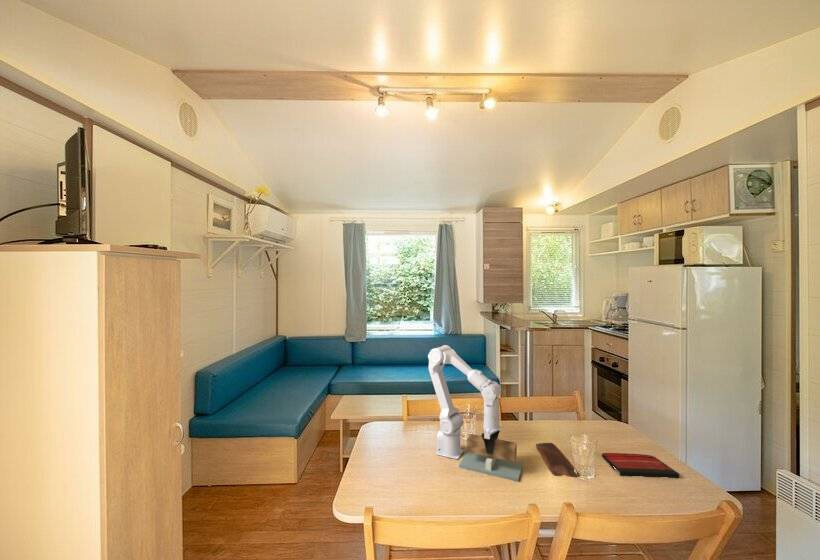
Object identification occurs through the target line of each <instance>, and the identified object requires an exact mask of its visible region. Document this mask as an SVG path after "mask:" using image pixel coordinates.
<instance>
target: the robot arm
mask: <svg viewBox="0 0 820 560" xmlns="http://www.w3.org/2000/svg"><path fill="white" fill-rule="evenodd" d="M427 358H428V372H429V375H430V378H431V381H432V382H431V383H432V385H433V388H434V391H435V394H436V398H437V402H438V404H439V409H440V413H439V415H438V416H439V417H438V418H439V430H438V432H437V434H436V435H437V436H436V453H435V454H436V455H438V456H441V457H445V458H451V459H453V460H459V459H460V457H461V456H462V454H463V453H464V449H463V448H461V429H462V426H463V425H464V419H463V416H462V415H461V414H460V412H459V409H458V408H457V407H455V406H454V403H453V400H452V395H451V394H450V391H449V388H448V384H447V380H446V378H445V375H444V372H443V371H444V370H443V369H444V367H445V365H452V366H453V367H455V368H456V369H457V370H458V371H460V372H461V373H463V375H465V376H466V377H467V382H469V383H470V384H471V385H473V387H475V388H476V389H477V391H479V392H480V394H481V397H482V399H483V425H482V426H483V427H482V428H483V430H484V431H483V432H482V433H481V435H480V436H481V437H482V439H483V441H484V443H485V448H486V452H487V453H489V454H492V453H493V449H494V443H495V440H496V439H498V438H499V434H500V432H501V431H502V430H503V426H500V397H499V396H500V395H501V394H502V387H501V386H500V384H499V383H498V382H497V381H493V380H492V379H489V378H488V376H487V377H486V376H485V375H484V374H483V371H482V370H479V369H473V368H471V367H470V365H469V364H468V363H466V361H464V359H462V358H461V357H460V356H459V355H458V354H457V353H456V350H454V349H452V348H451V346H449V345H447V344H444V345H442V346H439V347H434V348H432V349H431V350H430V351H429V353H428V354H427Z"/></svg>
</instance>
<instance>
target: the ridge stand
mask: <svg viewBox="0 0 820 560" xmlns="http://www.w3.org/2000/svg"><path fill="white" fill-rule="evenodd" d="M523 467H524V463H523V462H520V461H516V460H515V462H512V461H507V460H503V459H498V458H494V457H489V456H484V455H480V454H475V453H471V452H467V451H466V453H465V454H464V456H463V458H462V459H461V461H460V462H459V464H458V468H460V469H464V470H468V471H472V472H477V473H481V474H485V475H489V476H493V477H496V478H497V477H498V478H502V479H504V480H505V479H506V480H509V481H513V482H514V481H515V482H519V480H520V477H521V473H522V470H523Z"/></svg>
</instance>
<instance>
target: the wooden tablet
mask: <svg viewBox="0 0 820 560" xmlns="http://www.w3.org/2000/svg"><path fill="white" fill-rule="evenodd" d="M535 447H536V450H537V452H538V453H539V455H540V457H541V458H542V459H543V462H544V463H545V465H546V466H547V468H548V469H549V471H550V472H551V474H552V475H553V476H554V477H562V476H565V477H569V478H578V477H579V476H578V475H577V474H576V473H575V472H574V468H575V467H574V465H573V464H572V462H570V461H569V459H568V458H567V456H565V454H564V453H563V452H562V451H561V450H560V449H559V448H558V447H557V446H556V445H555V444H554V443H553V442H541V443H536V444H535ZM573 467H574V468H573ZM577 476H578V477H577Z"/></svg>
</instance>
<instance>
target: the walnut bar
mask: <svg viewBox="0 0 820 560" xmlns="http://www.w3.org/2000/svg"><path fill="white" fill-rule="evenodd" d="M517 445H518V444H517V442H514V441H508V440H505V439H498V438H497V439H496V440H495V443H494V449H493V453H492V454H489V453H487V452H486V448H485V443H484V441H483V439H482V437H481V435H479V434H473V433H470V434H469V436H468V437H467V438H466V453H467V452H471V453H475V454H480V455H484V456H489V457H494V458H498V459H503V460H507V461H512V462H515V461H516V459H517V456H518V454H517V452H518V451H517V450H518V449H517V448H518V447H517Z"/></svg>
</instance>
